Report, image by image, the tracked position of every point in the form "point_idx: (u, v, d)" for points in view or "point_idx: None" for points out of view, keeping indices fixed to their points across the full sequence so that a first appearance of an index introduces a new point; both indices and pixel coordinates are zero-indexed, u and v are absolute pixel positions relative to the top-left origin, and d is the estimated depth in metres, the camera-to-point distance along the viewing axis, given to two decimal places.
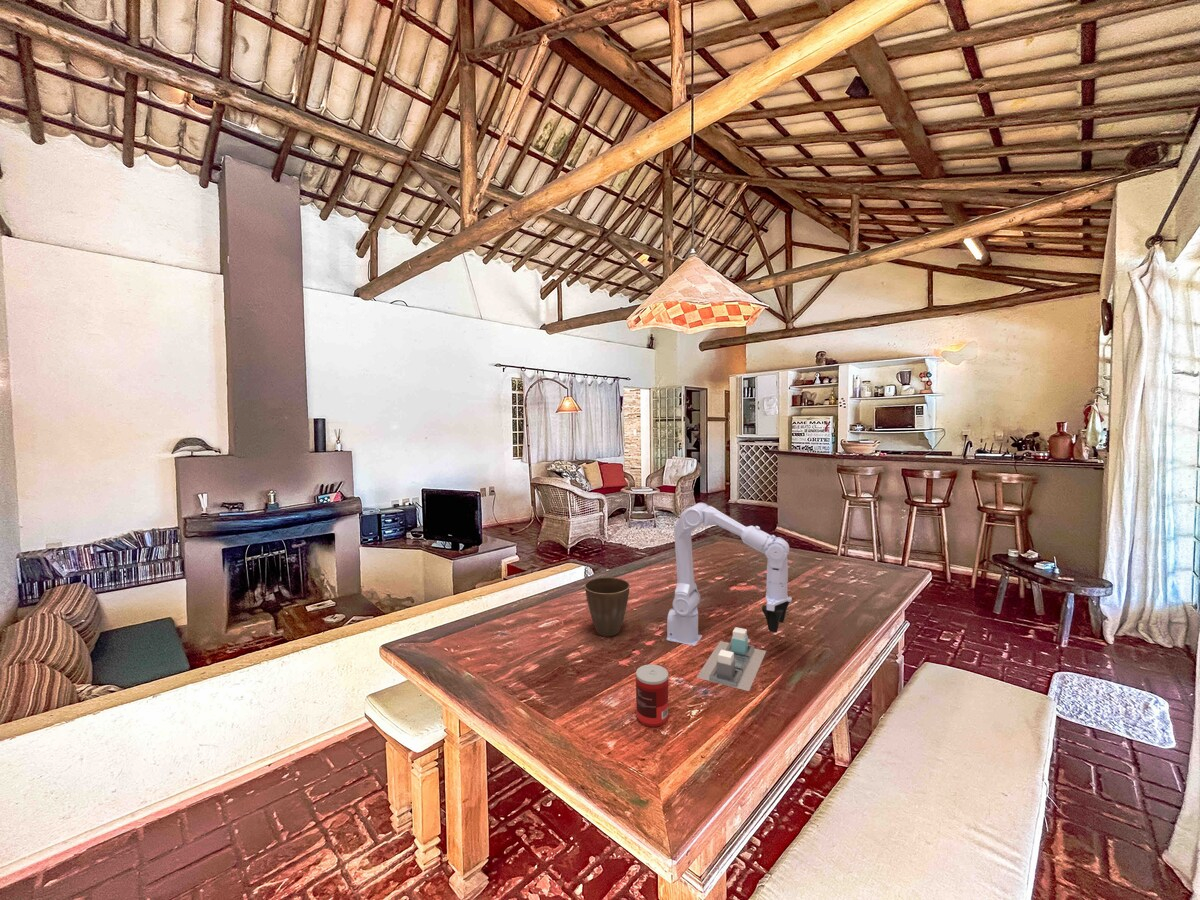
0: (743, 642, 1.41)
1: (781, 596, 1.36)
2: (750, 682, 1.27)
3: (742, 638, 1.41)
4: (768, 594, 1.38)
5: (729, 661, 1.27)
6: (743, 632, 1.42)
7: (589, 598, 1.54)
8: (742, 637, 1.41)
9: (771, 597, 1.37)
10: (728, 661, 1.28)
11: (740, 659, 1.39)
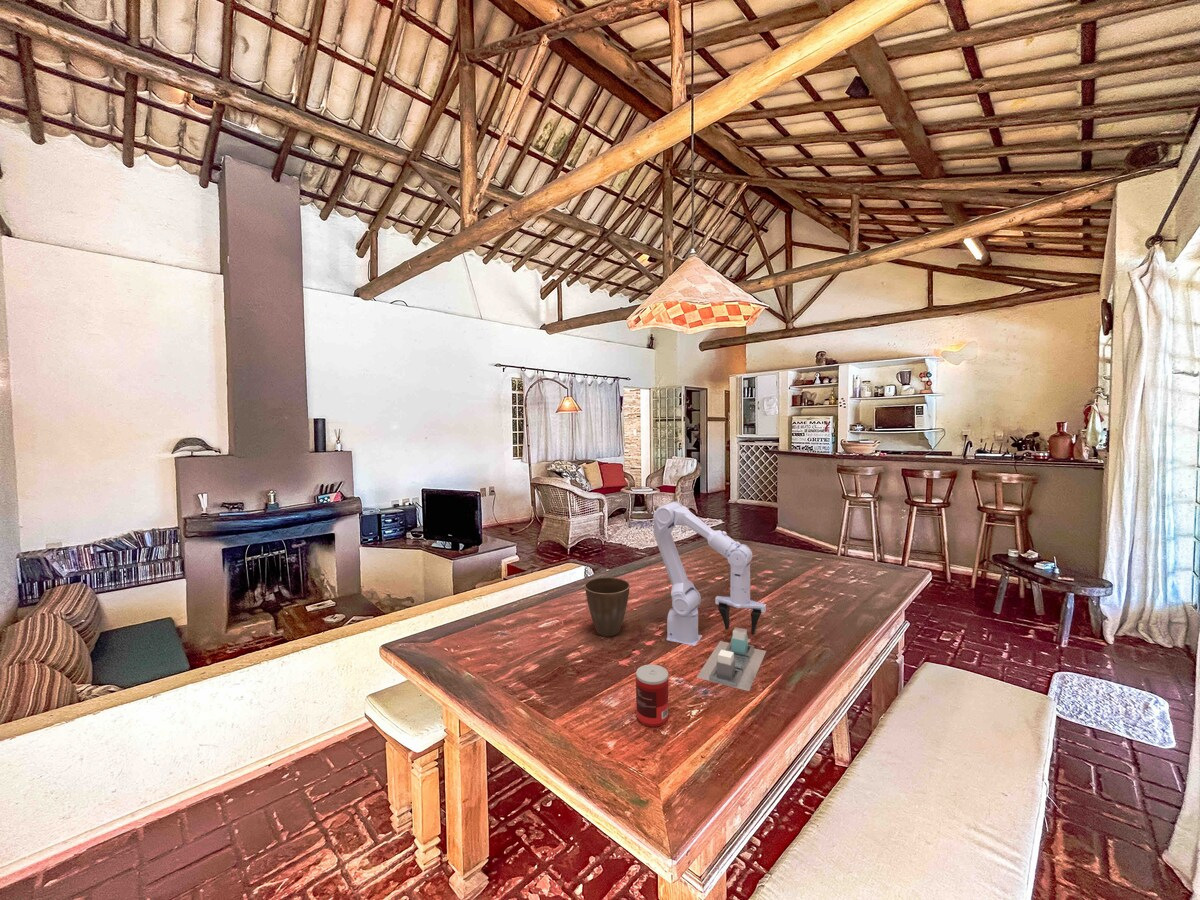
0: (743, 642, 1.41)
1: (731, 599, 1.42)
2: (750, 682, 1.27)
3: (742, 638, 1.41)
4: None
5: (729, 661, 1.27)
6: (743, 632, 1.42)
7: (589, 598, 1.54)
8: (742, 637, 1.41)
9: None
10: (728, 661, 1.28)
11: (740, 659, 1.39)
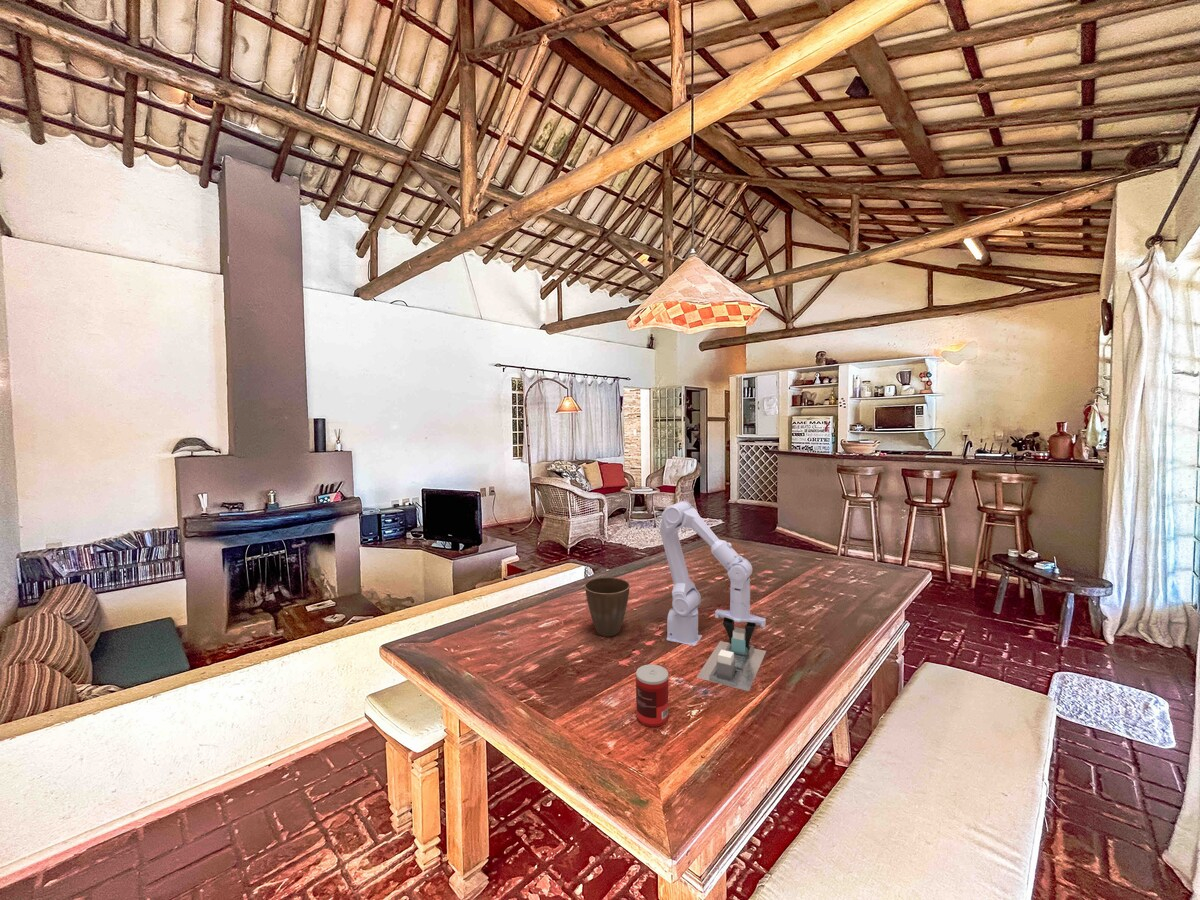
0: (743, 642, 1.41)
1: (731, 613, 1.43)
2: (750, 682, 1.27)
3: (742, 638, 1.41)
4: None
5: (729, 661, 1.27)
6: (743, 632, 1.42)
7: (589, 598, 1.54)
8: (742, 637, 1.41)
9: None
10: (728, 661, 1.28)
11: (740, 659, 1.39)
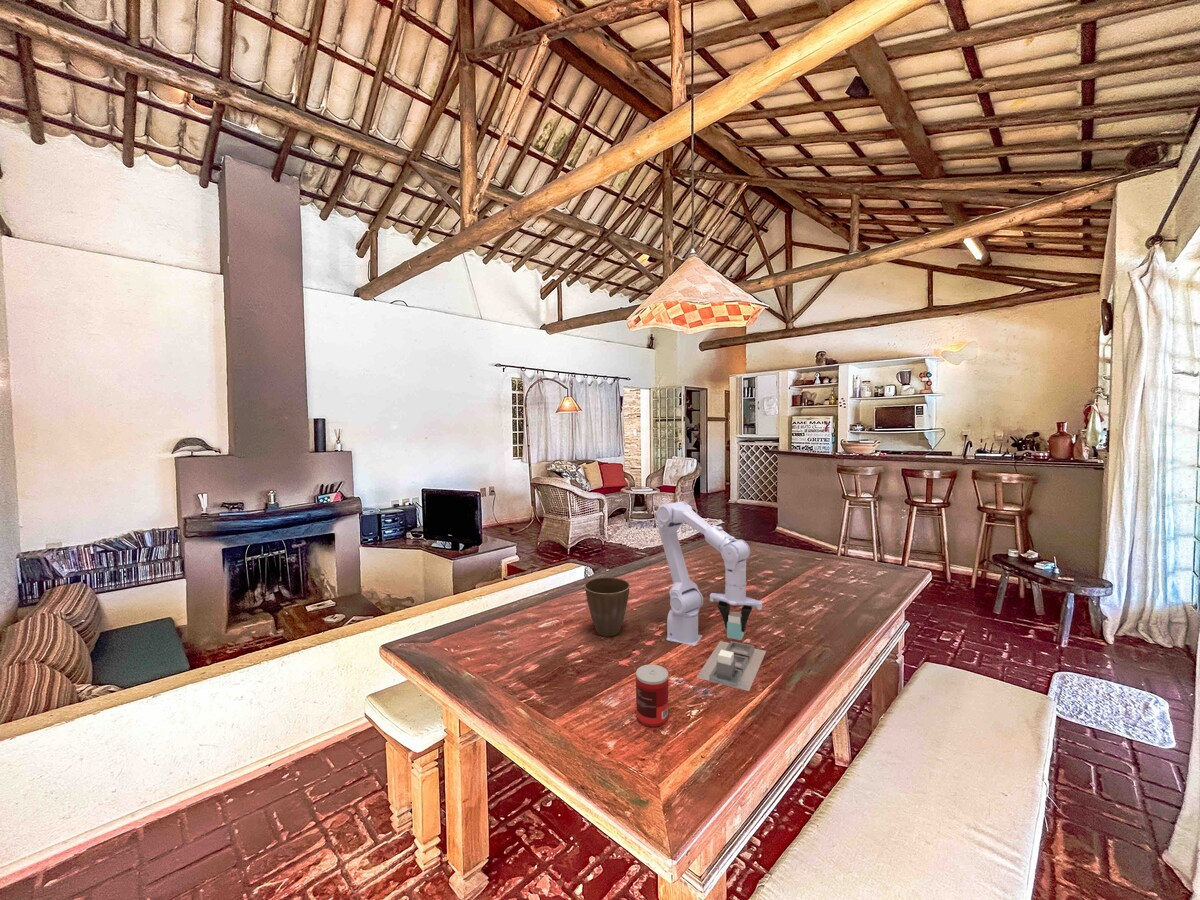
0: (739, 626, 1.36)
1: (726, 596, 1.37)
2: (750, 682, 1.27)
3: (738, 622, 1.36)
4: None
5: (729, 661, 1.27)
6: (739, 616, 1.37)
7: (589, 598, 1.54)
8: (738, 621, 1.36)
9: None
10: (728, 661, 1.28)
11: (740, 659, 1.39)
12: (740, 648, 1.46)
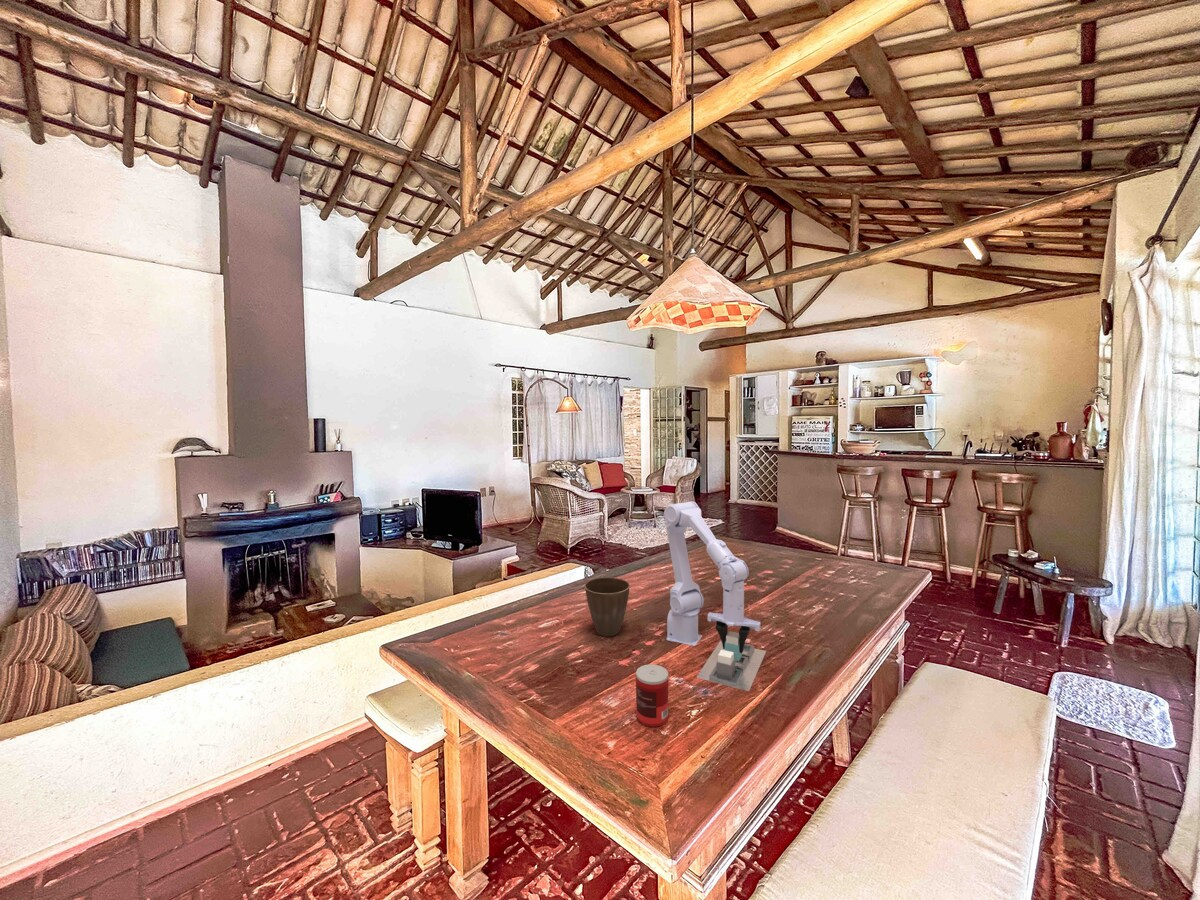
0: (737, 647, 1.34)
1: (724, 616, 1.35)
2: (750, 682, 1.27)
3: (736, 643, 1.35)
4: None
5: (729, 661, 1.27)
6: (737, 636, 1.35)
7: (589, 598, 1.54)
8: (736, 642, 1.35)
9: None
10: (728, 661, 1.28)
11: (740, 659, 1.39)
12: None
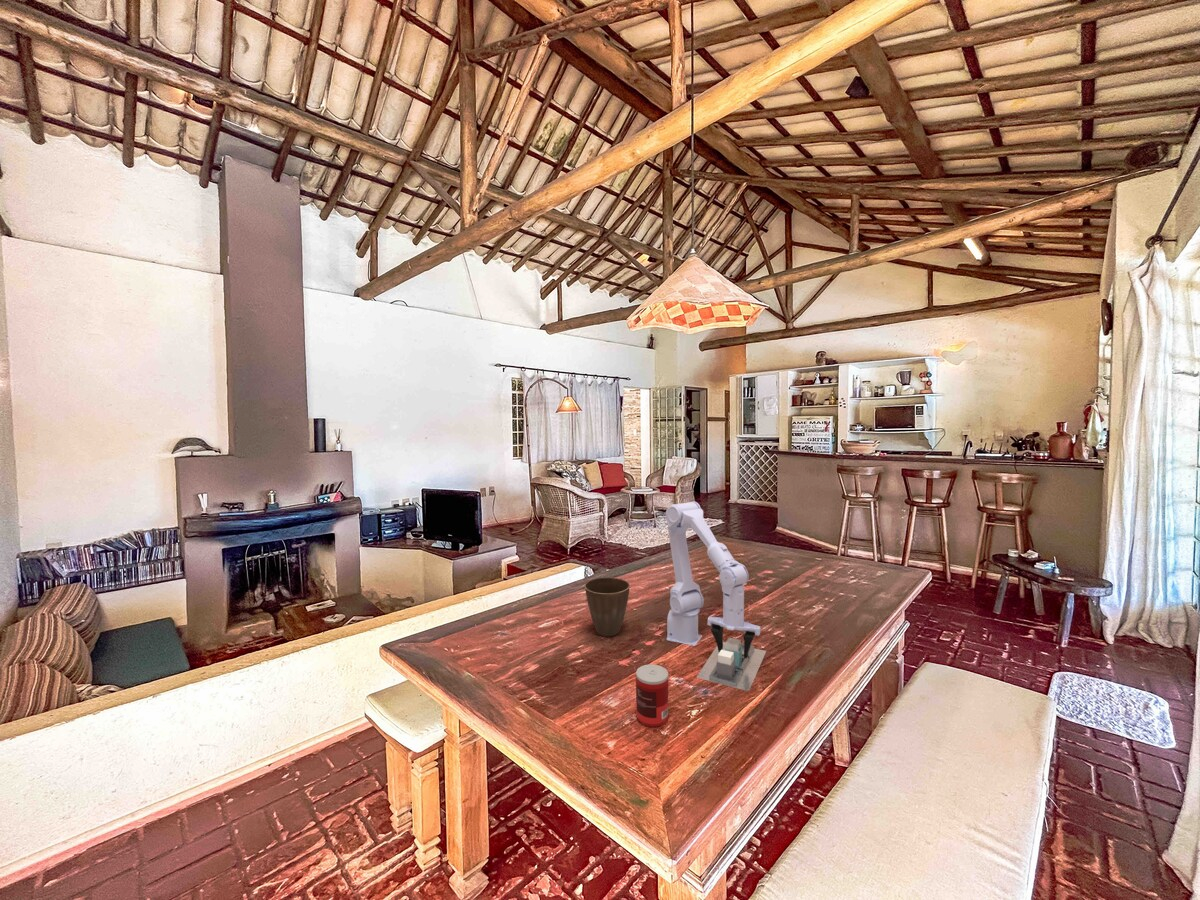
0: (737, 653, 1.34)
1: (724, 620, 1.36)
2: (750, 682, 1.27)
3: (736, 649, 1.35)
4: None
5: (729, 661, 1.27)
6: (737, 643, 1.35)
7: (589, 598, 1.54)
8: (736, 648, 1.35)
9: None
10: (728, 661, 1.28)
11: None
12: None
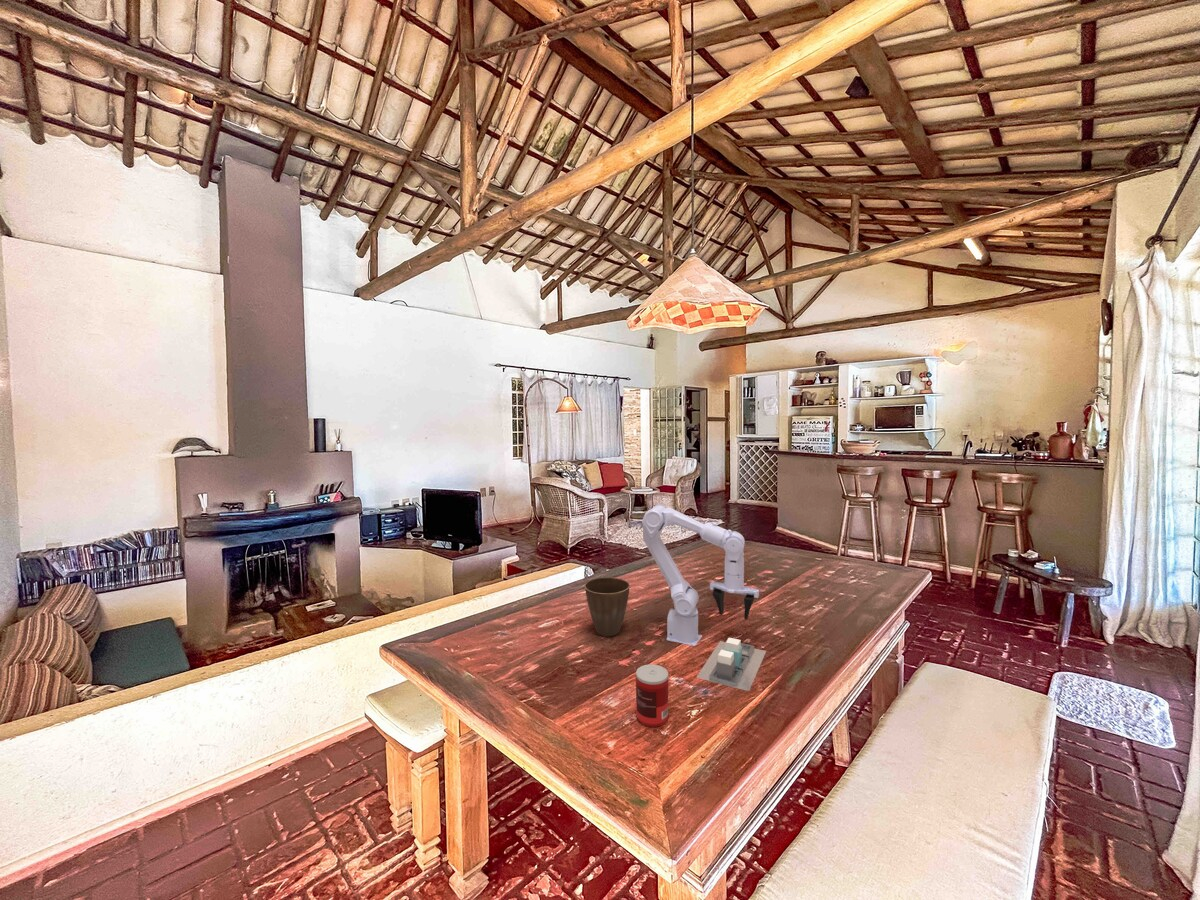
0: (737, 653, 1.34)
1: (725, 584, 1.46)
2: (750, 682, 1.27)
3: (736, 649, 1.35)
4: None
5: (729, 661, 1.27)
6: (737, 643, 1.35)
7: (589, 598, 1.54)
8: (736, 648, 1.35)
9: None
10: (728, 661, 1.28)
11: None
12: None
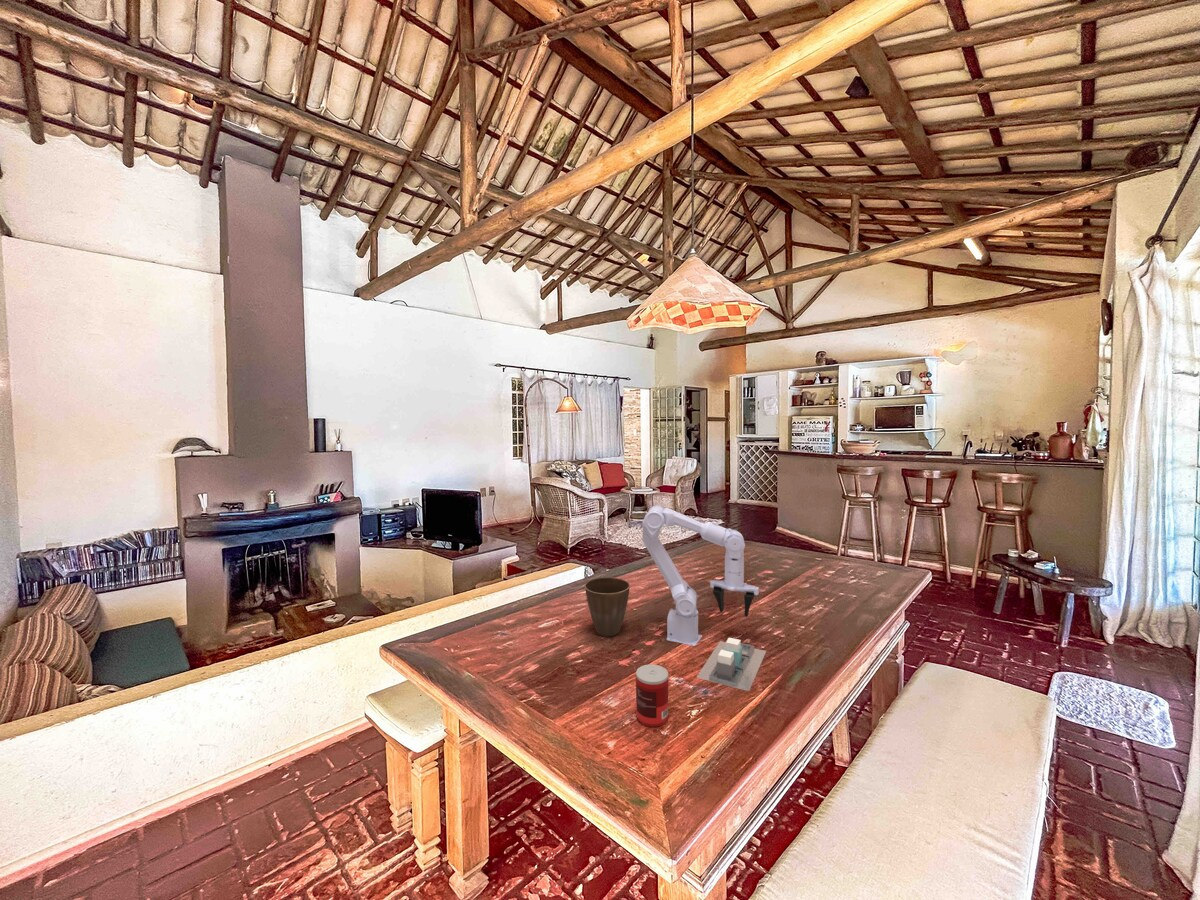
0: (737, 653, 1.34)
1: (725, 582, 1.48)
2: (750, 682, 1.27)
3: (736, 649, 1.35)
4: None
5: (729, 661, 1.27)
6: (737, 643, 1.35)
7: (589, 598, 1.54)
8: (736, 648, 1.35)
9: None
10: (728, 661, 1.28)
11: None
12: None
